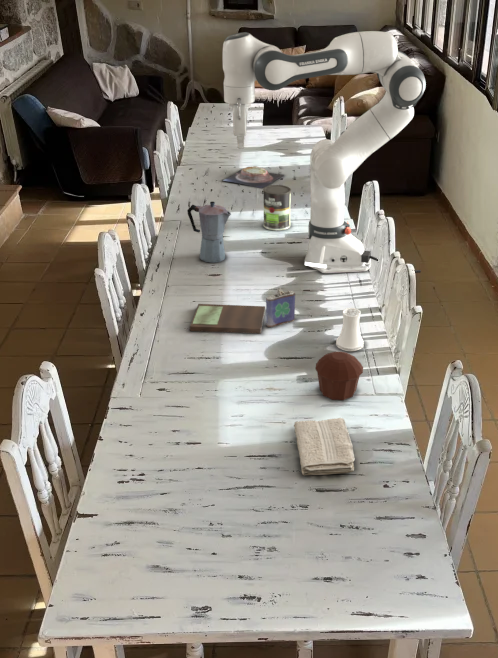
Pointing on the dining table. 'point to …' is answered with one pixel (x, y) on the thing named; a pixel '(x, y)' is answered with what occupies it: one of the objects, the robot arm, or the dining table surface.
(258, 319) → the board
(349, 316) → the white salt shaker
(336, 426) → the washcloth
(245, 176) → the quiche
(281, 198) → the coffee can
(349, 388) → the muffin
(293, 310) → the flask
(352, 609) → the dining table surface
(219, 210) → the moka pot
